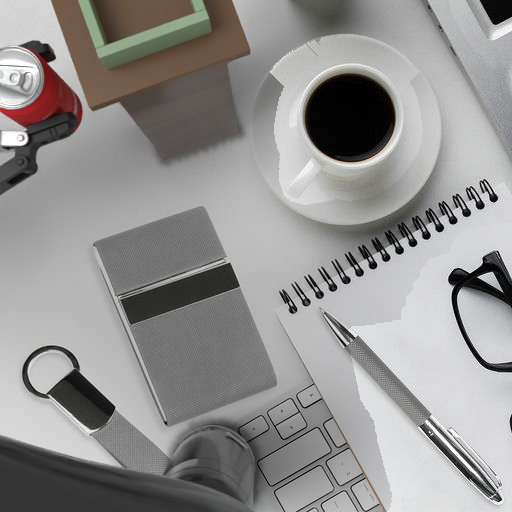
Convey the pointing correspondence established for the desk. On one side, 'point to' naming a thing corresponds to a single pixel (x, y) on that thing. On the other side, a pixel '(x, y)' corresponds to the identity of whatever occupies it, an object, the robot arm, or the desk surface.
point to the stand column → (186, 112)
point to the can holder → (146, 43)
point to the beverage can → (33, 88)
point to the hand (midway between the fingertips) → (62, 84)
